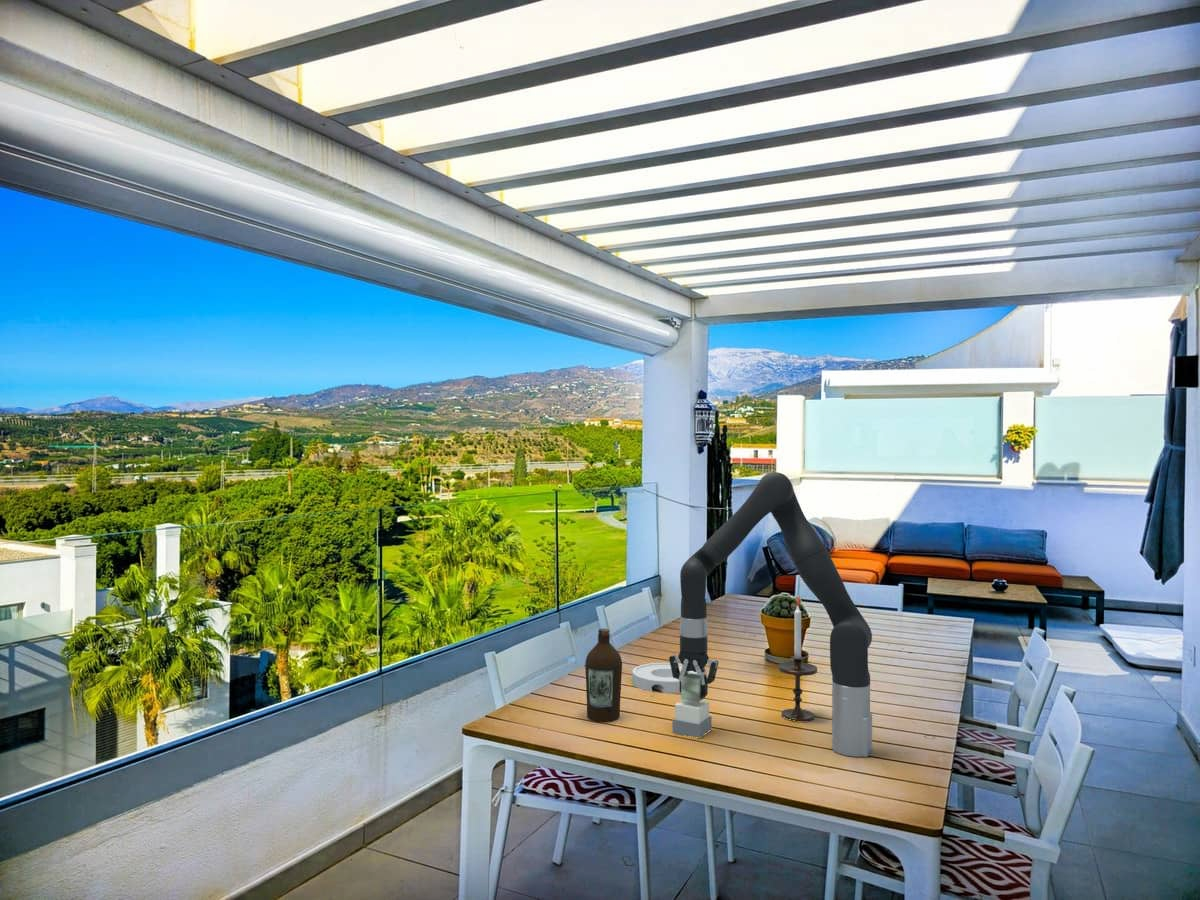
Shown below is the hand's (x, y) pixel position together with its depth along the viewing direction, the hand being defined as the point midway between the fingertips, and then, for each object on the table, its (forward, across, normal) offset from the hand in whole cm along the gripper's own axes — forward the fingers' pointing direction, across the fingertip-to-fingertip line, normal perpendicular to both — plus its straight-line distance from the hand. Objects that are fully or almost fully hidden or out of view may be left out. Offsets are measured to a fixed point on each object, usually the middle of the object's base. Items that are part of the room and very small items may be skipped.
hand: (693, 695), depth 210 cm
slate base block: (+10, 0, 0) cm, 10 cm away
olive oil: (+10, +27, +2) cm, 29 cm away
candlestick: (+10, -21, -27) cm, 36 cm away
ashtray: (+10, +26, -39) cm, 48 cm away
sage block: (+1, 0, 0) cm, 1 cm away
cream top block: (+6, 0, 0) cm, 6 cm away
